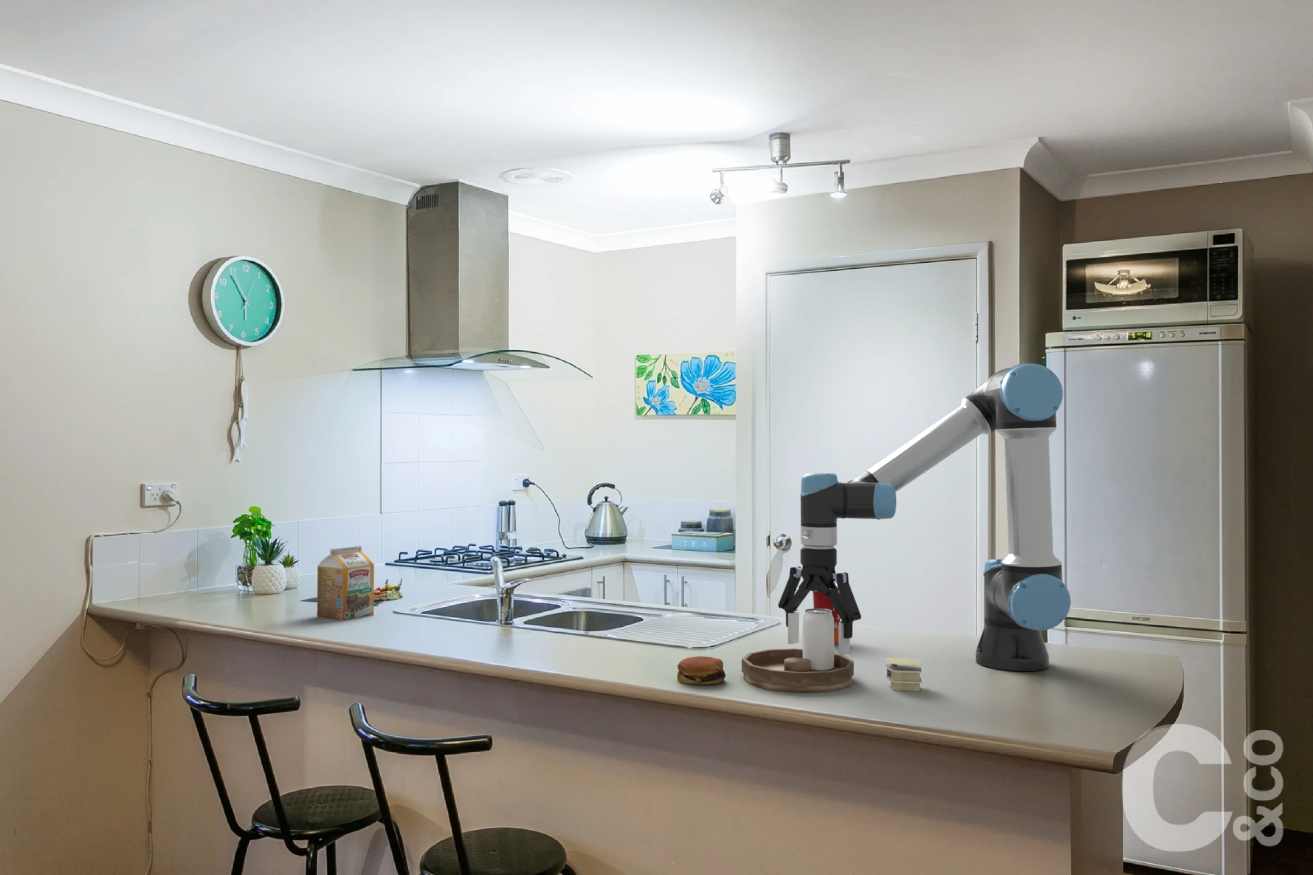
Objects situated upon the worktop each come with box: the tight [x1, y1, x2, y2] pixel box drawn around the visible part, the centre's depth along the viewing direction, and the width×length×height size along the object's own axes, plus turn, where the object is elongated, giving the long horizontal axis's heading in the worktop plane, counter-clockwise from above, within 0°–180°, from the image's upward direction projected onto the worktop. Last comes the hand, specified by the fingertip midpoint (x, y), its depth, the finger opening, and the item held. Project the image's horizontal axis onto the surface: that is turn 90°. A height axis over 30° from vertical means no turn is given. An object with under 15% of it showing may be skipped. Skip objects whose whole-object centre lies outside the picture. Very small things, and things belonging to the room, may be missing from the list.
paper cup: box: [812, 582, 841, 645], centre depth 234 cm, size 8×8×14 cm
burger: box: [676, 655, 727, 686], centre depth 195 cm, size 10×10×5 cm
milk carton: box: [316, 545, 375, 622], centre depth 266 cm, size 11×11×19 cm
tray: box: [741, 648, 855, 693], centre depth 197 cm, size 22×22×4 cm
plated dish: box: [300, 578, 403, 607], centre depth 297 cm, size 35×28×7 cm
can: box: [802, 608, 835, 671], centre depth 201 cm, size 6×6×12 cm
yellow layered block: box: [884, 657, 923, 692], centre depth 191 cm, size 10×9×6 cm
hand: (818, 648), depth 201 cm, fingers open, 13 cm apart
